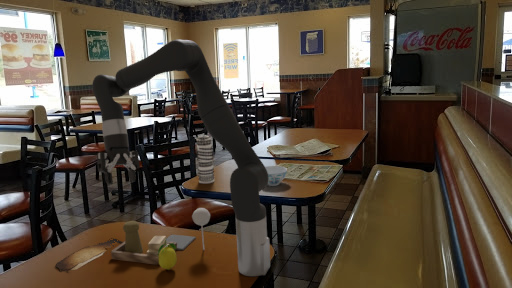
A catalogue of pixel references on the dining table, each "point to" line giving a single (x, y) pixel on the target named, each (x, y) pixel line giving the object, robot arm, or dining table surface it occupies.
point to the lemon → (167, 256)
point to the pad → (181, 240)
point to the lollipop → (201, 219)
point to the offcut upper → (156, 243)
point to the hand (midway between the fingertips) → (121, 183)
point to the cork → (132, 237)
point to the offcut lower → (154, 252)
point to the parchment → (84, 256)
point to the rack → (136, 255)
